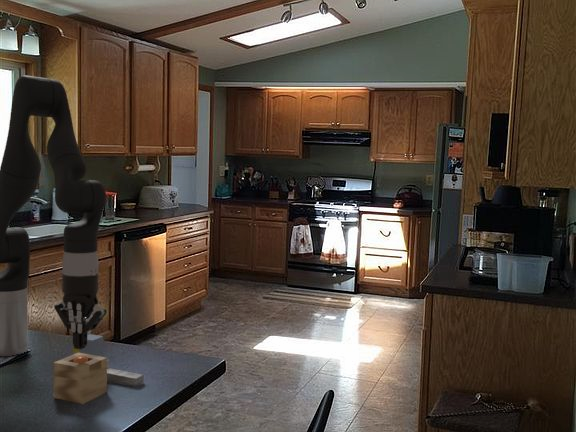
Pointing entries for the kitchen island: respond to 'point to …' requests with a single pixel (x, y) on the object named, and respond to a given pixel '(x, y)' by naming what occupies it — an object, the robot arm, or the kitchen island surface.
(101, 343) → the carriage
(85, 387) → the open wooden box
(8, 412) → the kitchen island surface
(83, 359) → the brown egg
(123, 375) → the rail
